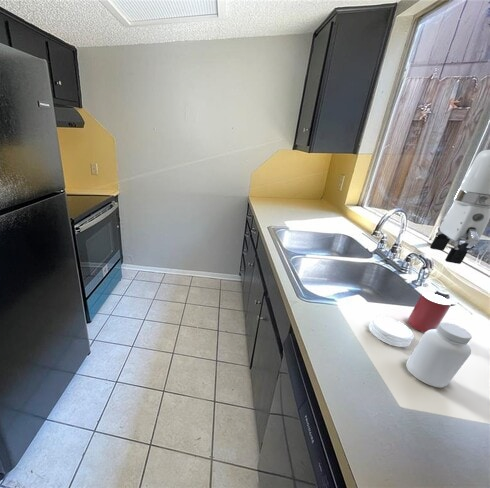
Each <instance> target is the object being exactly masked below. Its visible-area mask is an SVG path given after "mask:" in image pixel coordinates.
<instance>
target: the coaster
mask: <svg viewBox="0 0 490 488" xmlns="http://www.w3.org/2000/svg"><path fill="white" fill-rule="evenodd" d="M368 330H369V331H370V333H371V334H372V335H373V337H375V338H376V339H378V340H379V341H381V342H383V343H385V344H388V345H389V346H393V347H396V348H397V347H398V348H406V347H409V346H410V345H411V343H412V341H413V340H414V338H415V334H414V332H413V331H412V330H411V328H409V327H408V326H407V325H406V324H404V323H402V322H401V321H399V320H398V319H394V318H392V317H388V316H384V315H379V316H378V315H376V316H374V317H372V318H371V321H370V323H369V324H368Z"/></svg>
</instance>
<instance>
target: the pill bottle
mask: <svg viewBox="0 0 490 488" xmlns="http://www.w3.org/2000/svg"><path fill="white" fill-rule="evenodd" d="M471 340H472V334H471V333H470V332H469V331H468V330H466V329H465V328H464V327H461V326H459V325H457V324H455V323H451V322H443V321H442V322H440V324H439V326H438V327H437V329H431V330H428V331H426V332H425V333H424V332H423V335H422V336H421V338H420V340H419V341H418V343H417V345H416V346H415V348H414V349H413V351H412V352H411V354H410V356H409V357H408V359H407V360H406V364H405V366H406V369H407V371H408V372H409V373H410V374H411V375H412V376H414V377H415V378H416V379H417V380H418V381H420V382H422V383H424V384H425V385H429V386H430V387H434V388H445V387H447V386H448V385H449V384H450V382H451V381H452V380H453V378H454V377H455V376H456V375H457V374H458V372H459V370H460V369H461V368H462V367H463V365H464V364H465V362H466V361H467V360H468V358H469V357H471V354H472V349H471V346H470V345H469V342H470V341H471Z"/></svg>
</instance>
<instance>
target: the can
mask: <svg viewBox="0 0 490 488" xmlns="http://www.w3.org/2000/svg"><path fill="white" fill-rule="evenodd" d="M418 298H419V299H418V300H417V302H416V303H415V306H414V307H413V310H412V311H411V313H410V315H409V317H408V319H407V321H406V322H407V324H408V325H409V326H410V327H411V328H413V329H414V330H416V331H419V332H422V333H423V334H424V333H425V332H426V331H428V330H431V329H437V327H438V326H439V324H440V323H442V322H443V319H444V317H445V316H446V314H447V313H448V311H449V309H450V308H451V306H452V303H451V301H450V300H448V299H447V298H445V297H444V296H442V295H439V294H435V293H432V292H423V293H421V295H420V296H419V297H418Z"/></svg>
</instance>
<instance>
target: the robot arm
mask: <svg viewBox="0 0 490 488" xmlns="http://www.w3.org/2000/svg"><path fill="white" fill-rule="evenodd" d="M489 221H490V149H484V150H482V151H480V152H479V153H478V154H477V155H476V156H475V158H474V160H473V162H472V164H471V166H470V167H469V169H468V172H467V173H466V175H465V178H464V180H463V181H462V183H461V185H460V187H459V189H458V191H457V193H456V195H455V197H454V198H453V203H452V205H451V207H450V208H449V210H448V211H447V213H446V215H445V216H444V218H443V219H442V220H440V223H439V226H438V228H437V232H436V233H435V237H434V238H433V240H432V242H431V244H430V246H429V248H430V249H431V250H436V251H444V250H446V247H447V246H448V244H449V242H450V240H452V241H454V245H453V246H454V247H451V249H450V250H449V252H448V254H447V255H446V257H445V259H444V261H445V262H447V263H452V264H457V265H460V264H462V263H463V261H464V260H465V257H466V256H467V254H468V253H470V251H471V250H472V249H474V248H475V246H476V245H477V244H478V243H479V242H480V239H481V238H482V236H483V234H484V232H485V230H486V228H487V226H488V224H489Z"/></svg>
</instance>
